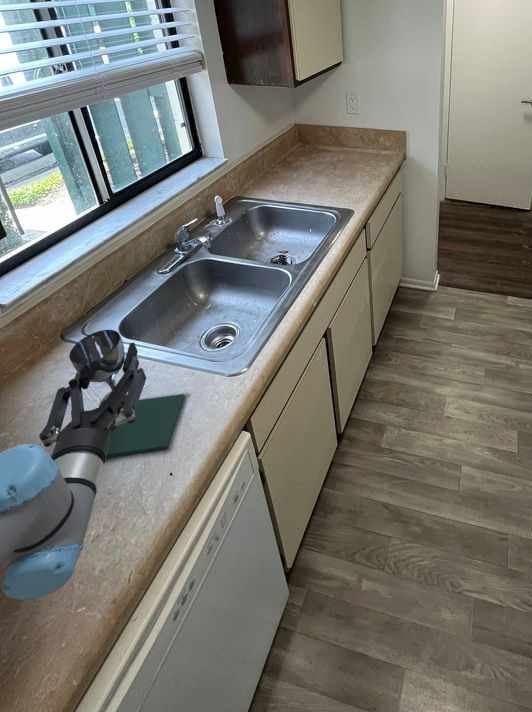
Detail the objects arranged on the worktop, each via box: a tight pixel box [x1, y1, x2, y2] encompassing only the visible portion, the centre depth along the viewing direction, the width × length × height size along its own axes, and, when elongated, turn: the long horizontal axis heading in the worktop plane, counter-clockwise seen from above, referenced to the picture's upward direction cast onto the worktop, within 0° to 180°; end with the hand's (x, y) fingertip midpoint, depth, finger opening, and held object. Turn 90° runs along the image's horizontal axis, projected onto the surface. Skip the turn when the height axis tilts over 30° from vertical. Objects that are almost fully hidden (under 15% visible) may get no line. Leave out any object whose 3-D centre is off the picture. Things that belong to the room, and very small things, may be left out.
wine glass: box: [68, 329, 127, 416], centre depth 83 cm, size 8×8×15 cm
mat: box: [106, 393, 186, 459], centre depth 94 cm, size 16×12×1 cm
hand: (113, 352), depth 87 cm, fingers closed on wine glass, 6 cm apart
